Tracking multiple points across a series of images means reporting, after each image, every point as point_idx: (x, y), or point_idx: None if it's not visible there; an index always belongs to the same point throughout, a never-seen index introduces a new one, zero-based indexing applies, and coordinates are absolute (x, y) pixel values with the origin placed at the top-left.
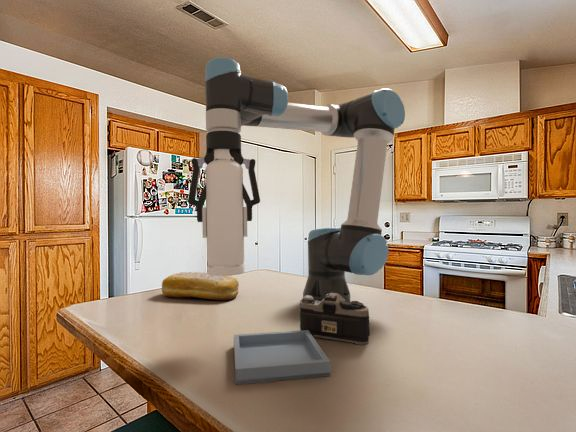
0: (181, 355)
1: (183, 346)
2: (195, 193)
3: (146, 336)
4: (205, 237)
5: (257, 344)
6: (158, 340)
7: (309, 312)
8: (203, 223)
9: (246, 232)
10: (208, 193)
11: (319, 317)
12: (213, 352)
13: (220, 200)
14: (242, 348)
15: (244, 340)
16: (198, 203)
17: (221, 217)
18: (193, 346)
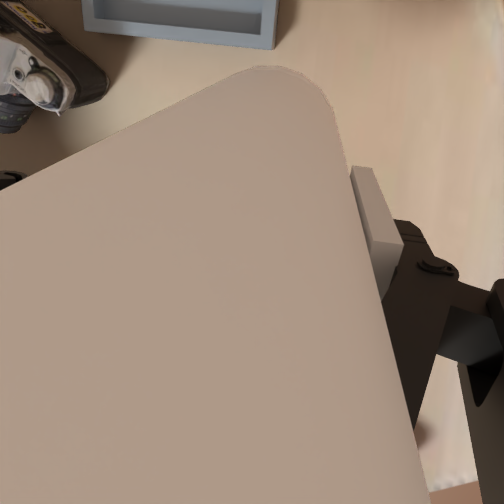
0: (402, 27)
1: (390, 88)
2: (484, 406)
3: (466, 185)
4: (356, 167)
5: (218, 26)
6: (442, 148)
7: (58, 61)
8: (376, 195)
9: None
10: (369, 264)
11: (38, 36)
12: (326, 24)
13: (249, 131)
14: (257, 8)
15: (247, 33)
16: (443, 268)
17: (262, 104)
18: (367, 81)
